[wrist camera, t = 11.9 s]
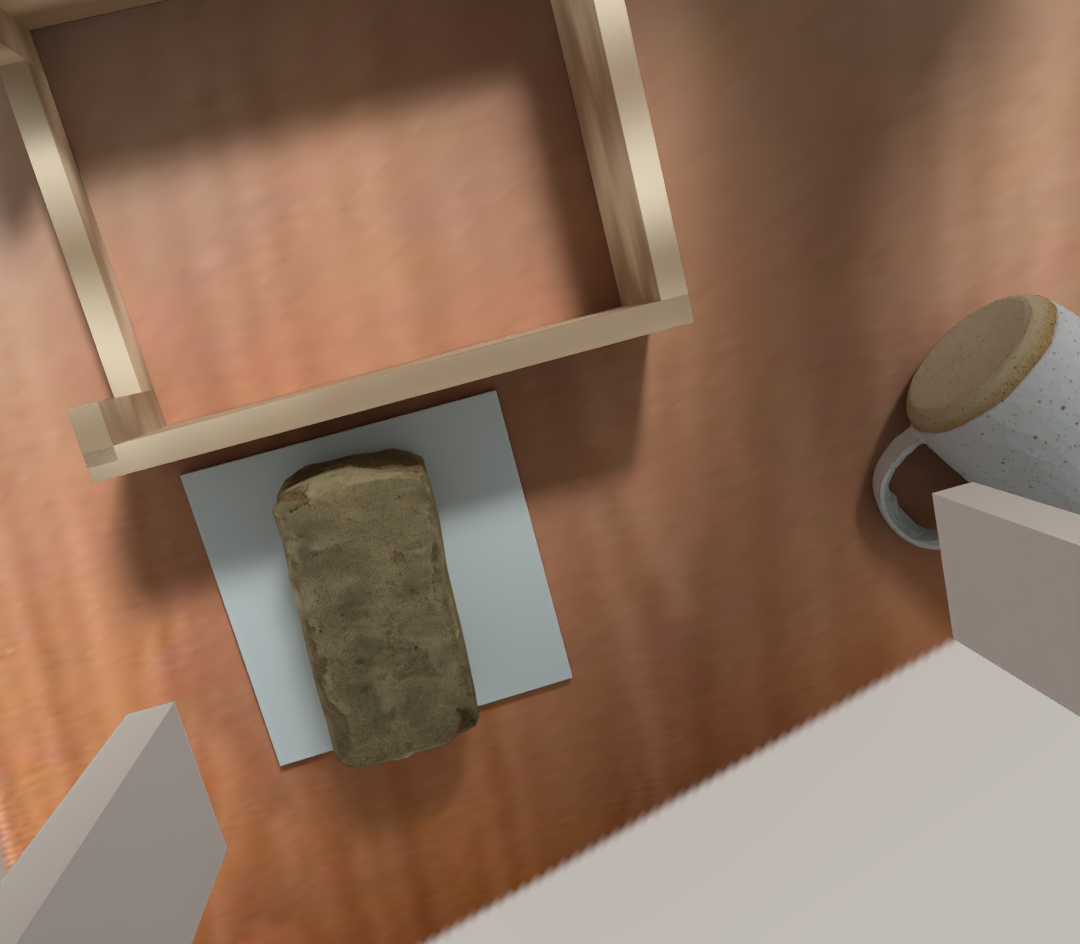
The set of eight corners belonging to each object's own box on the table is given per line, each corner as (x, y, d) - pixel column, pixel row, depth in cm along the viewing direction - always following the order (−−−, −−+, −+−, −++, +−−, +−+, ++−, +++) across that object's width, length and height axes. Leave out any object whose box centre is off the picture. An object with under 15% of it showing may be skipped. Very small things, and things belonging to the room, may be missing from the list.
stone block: (349, 726, 37) (338, 785, 32) (279, 466, 35) (255, 487, 30) (482, 692, 37) (490, 745, 32) (420, 434, 35) (420, 450, 30)
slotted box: (-9, 7, 31) (-109, -69, 25) (550, -115, 33) (578, -212, 27) (149, 457, 34) (93, 482, 28) (650, 323, 36) (694, 321, 30)
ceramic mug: (966, 282, 38) (1099, 273, 30) (1091, 392, 39) (1246, 410, 32) (818, 476, 38) (912, 515, 31) (946, 576, 40) (1065, 636, 33)
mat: (182, 474, 34) (179, 476, 34) (495, 389, 36) (496, 390, 35) (281, 761, 37) (280, 766, 37) (571, 673, 38) (572, 677, 38)
